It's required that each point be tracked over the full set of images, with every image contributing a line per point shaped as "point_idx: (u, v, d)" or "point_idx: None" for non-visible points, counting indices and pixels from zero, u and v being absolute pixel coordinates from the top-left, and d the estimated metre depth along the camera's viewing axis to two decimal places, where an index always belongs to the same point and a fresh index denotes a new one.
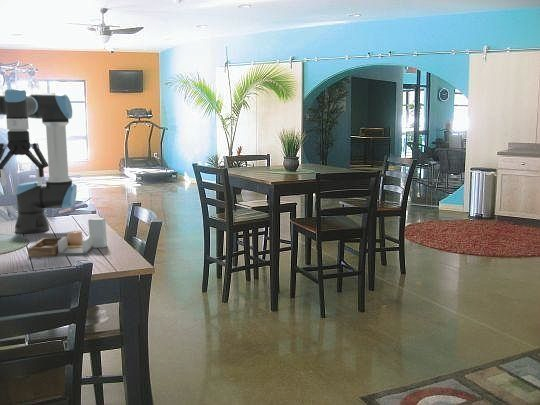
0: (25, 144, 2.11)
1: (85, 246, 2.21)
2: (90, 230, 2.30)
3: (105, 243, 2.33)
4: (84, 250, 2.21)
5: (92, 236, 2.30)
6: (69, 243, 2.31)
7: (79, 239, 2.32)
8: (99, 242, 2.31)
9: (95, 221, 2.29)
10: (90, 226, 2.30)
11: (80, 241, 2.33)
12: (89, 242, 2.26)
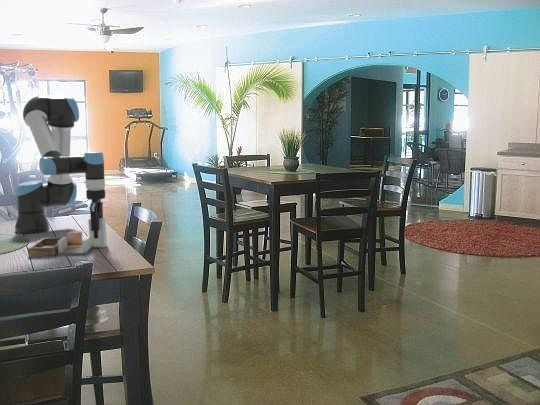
0: None
1: (85, 246, 2.21)
2: (90, 230, 2.30)
3: (105, 243, 2.33)
4: (84, 250, 2.21)
5: (92, 236, 2.30)
6: (69, 243, 2.31)
7: (79, 239, 2.32)
8: None
9: None
10: (90, 226, 2.30)
11: (80, 241, 2.33)
12: (89, 242, 2.26)
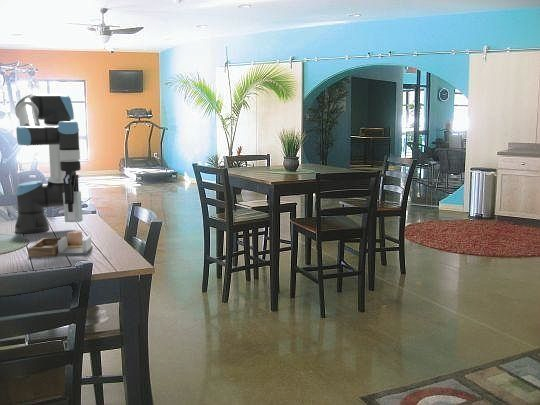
0: None
1: (85, 246, 2.21)
2: None
3: (80, 218, 2.22)
4: (84, 250, 2.21)
5: None
6: (69, 243, 2.31)
7: (79, 239, 2.32)
8: None
9: None
10: None
11: (80, 241, 2.33)
12: (89, 242, 2.26)
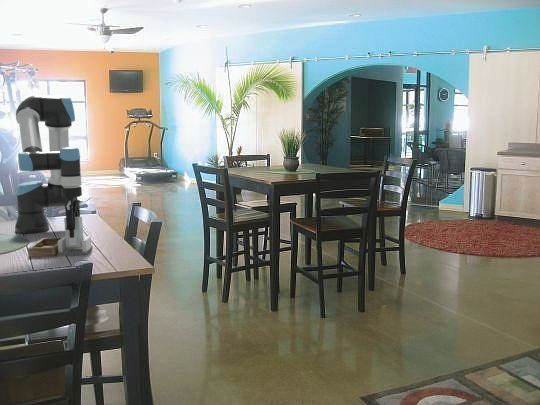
0: None
1: (85, 246, 2.21)
2: None
3: None
4: (84, 250, 2.21)
5: (68, 235, 2.21)
6: None
7: None
8: None
9: None
10: None
11: None
12: (89, 242, 2.26)
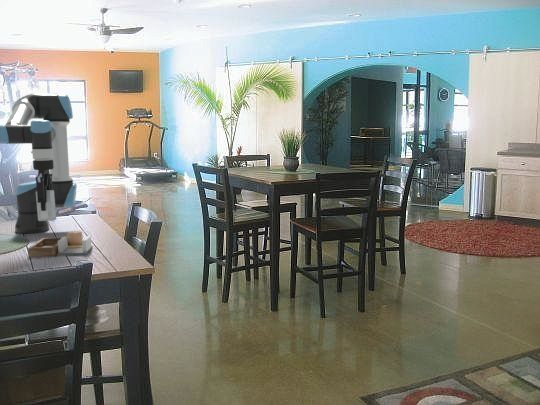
0: None
1: (85, 246, 2.21)
2: None
3: (54, 216, 2.23)
4: (84, 250, 2.21)
5: None
6: (69, 243, 2.31)
7: (79, 239, 2.32)
8: None
9: None
10: None
11: (80, 241, 2.33)
12: (89, 242, 2.26)
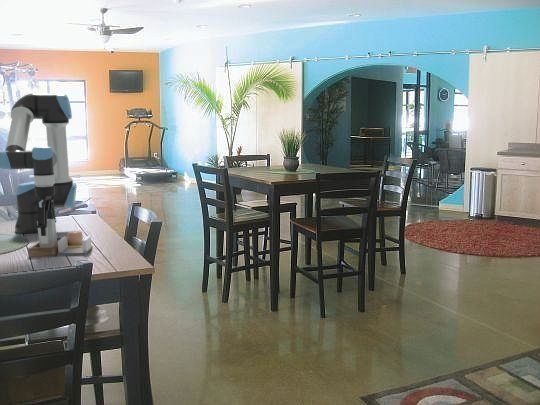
0: None
1: (85, 246, 2.21)
2: (39, 232, 2.22)
3: None
4: (84, 250, 2.21)
5: None
6: (69, 243, 2.31)
7: (79, 239, 2.32)
8: (49, 244, 2.23)
9: None
10: (39, 228, 2.21)
11: (80, 241, 2.33)
12: (89, 242, 2.26)
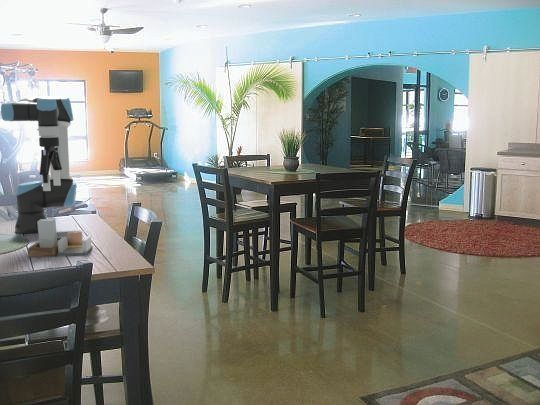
0: None
1: (85, 246, 2.21)
2: (39, 232, 2.22)
3: None
4: (84, 250, 2.21)
5: (42, 238, 2.22)
6: (69, 243, 2.31)
7: (79, 239, 2.32)
8: (49, 244, 2.23)
9: (45, 222, 2.21)
10: (39, 227, 2.22)
11: (80, 241, 2.33)
12: (89, 242, 2.26)
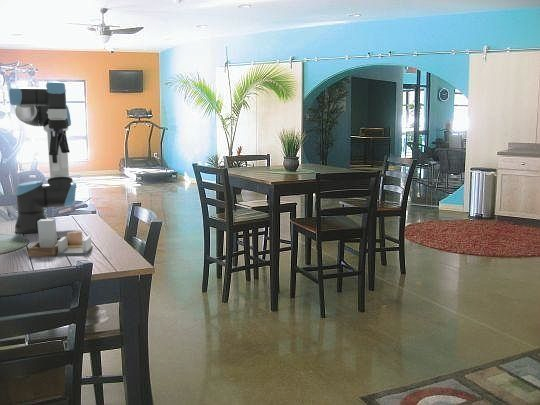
0: None
1: (85, 246, 2.21)
2: (39, 232, 2.22)
3: None
4: (84, 250, 2.21)
5: (42, 238, 2.22)
6: (69, 243, 2.31)
7: (79, 239, 2.32)
8: (49, 244, 2.23)
9: (44, 222, 2.21)
10: (39, 227, 2.22)
11: (80, 241, 2.33)
12: (89, 242, 2.26)
